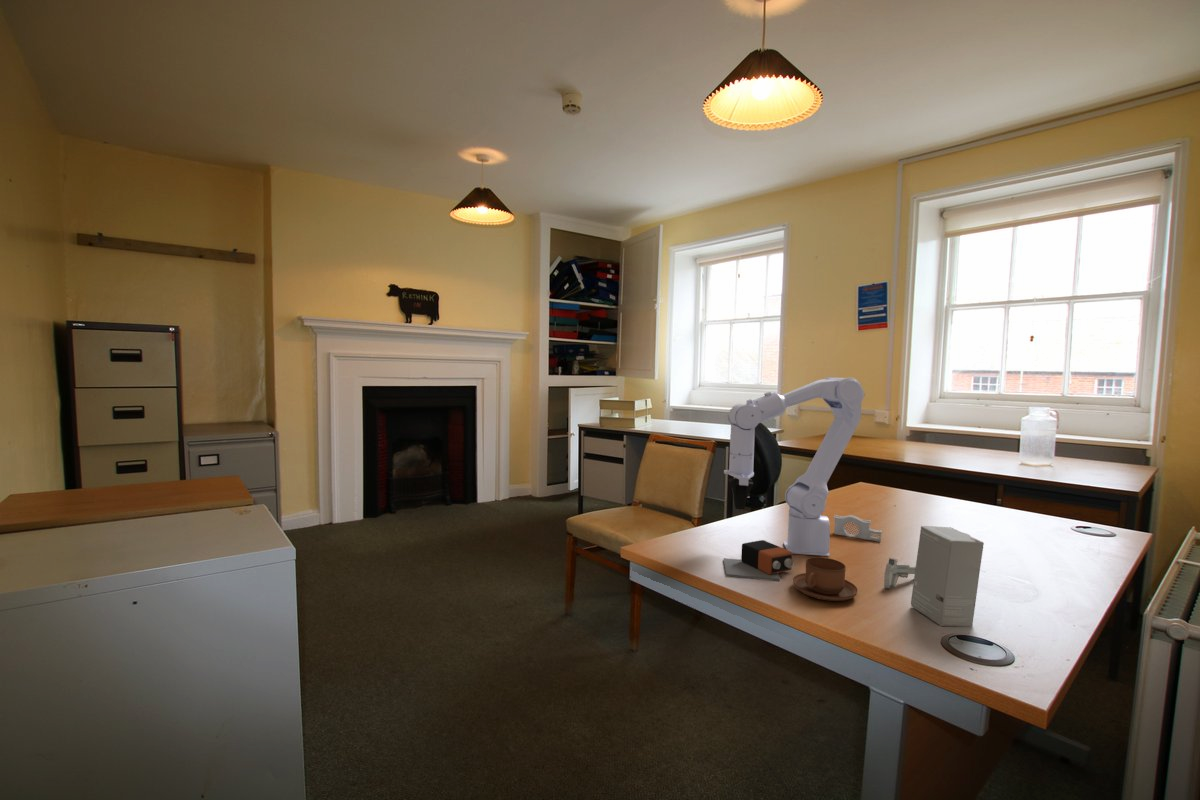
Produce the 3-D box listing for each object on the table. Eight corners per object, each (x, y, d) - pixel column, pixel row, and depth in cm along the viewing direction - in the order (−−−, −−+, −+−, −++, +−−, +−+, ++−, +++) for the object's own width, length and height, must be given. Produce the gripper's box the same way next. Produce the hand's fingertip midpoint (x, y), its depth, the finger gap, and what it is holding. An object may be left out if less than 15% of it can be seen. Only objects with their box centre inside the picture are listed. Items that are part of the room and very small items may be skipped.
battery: (762, 557, 126) (795, 572, 118) (740, 561, 123) (772, 577, 114) (763, 539, 126) (796, 552, 117) (740, 542, 123) (773, 557, 114)
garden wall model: (882, 541, 143) (883, 519, 143) (881, 543, 142) (882, 520, 141) (833, 532, 150) (834, 511, 149) (832, 534, 148) (833, 513, 148)
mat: (772, 564, 124) (772, 561, 124) (779, 580, 114) (780, 578, 114) (723, 560, 125) (723, 558, 125) (726, 576, 116) (726, 574, 116)
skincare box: (909, 606, 103) (914, 524, 102) (945, 606, 103) (950, 524, 102) (941, 628, 94) (946, 539, 93) (979, 627, 95) (985, 538, 94)
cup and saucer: (852, 612, 100) (854, 580, 100) (786, 596, 106) (787, 566, 106) (860, 590, 110) (862, 561, 110) (799, 577, 117) (800, 549, 116)
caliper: (888, 591, 111) (890, 560, 110) (883, 589, 112) (885, 558, 111) (941, 573, 121) (943, 545, 121) (936, 571, 122) (938, 543, 122)
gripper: (722, 448, 139) (721, 500, 140) (727, 457, 125) (724, 515, 126) (751, 449, 138) (749, 502, 139) (758, 459, 124) (756, 517, 124)
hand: (739, 508), depth 132 cm, fingers closed
